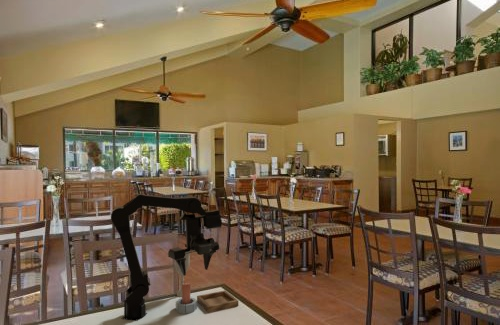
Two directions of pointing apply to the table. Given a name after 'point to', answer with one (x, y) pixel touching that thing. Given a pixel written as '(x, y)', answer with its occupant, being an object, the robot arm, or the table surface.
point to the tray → (217, 301)
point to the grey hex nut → (186, 306)
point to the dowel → (186, 293)
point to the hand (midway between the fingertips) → (195, 272)
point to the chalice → (187, 263)
